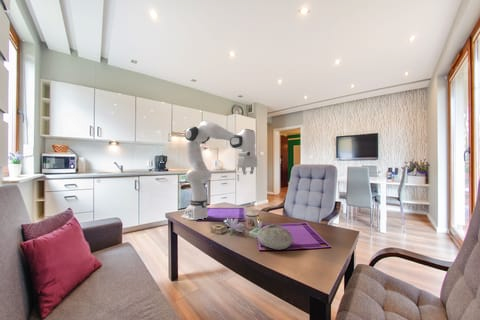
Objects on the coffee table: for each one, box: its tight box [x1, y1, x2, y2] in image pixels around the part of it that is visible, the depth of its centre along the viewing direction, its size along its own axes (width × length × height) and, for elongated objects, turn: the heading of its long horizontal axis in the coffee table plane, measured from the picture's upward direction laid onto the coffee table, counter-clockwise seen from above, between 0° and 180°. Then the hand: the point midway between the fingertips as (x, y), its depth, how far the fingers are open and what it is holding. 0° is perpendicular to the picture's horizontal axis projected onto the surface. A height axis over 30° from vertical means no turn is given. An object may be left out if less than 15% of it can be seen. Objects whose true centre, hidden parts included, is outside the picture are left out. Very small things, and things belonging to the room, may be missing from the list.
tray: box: [248, 228, 258, 239], centre depth 117 cm, size 9×9×2 cm
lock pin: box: [257, 216, 264, 232], centre depth 117 cm, size 4×4×10 cm
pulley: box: [223, 218, 235, 229], centre depth 133 cm, size 7×7×5 cm
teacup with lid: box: [245, 209, 260, 230], centre depth 132 cm, size 12×9×12 cm
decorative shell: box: [257, 223, 293, 251], centre depth 102 cm, size 18×18×10 cm
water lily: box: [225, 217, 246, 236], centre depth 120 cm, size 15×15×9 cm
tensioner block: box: [210, 224, 227, 235], centre depth 125 cm, size 7×7×3 cm
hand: (248, 174), depth 130 cm, fingers open, 8 cm apart
